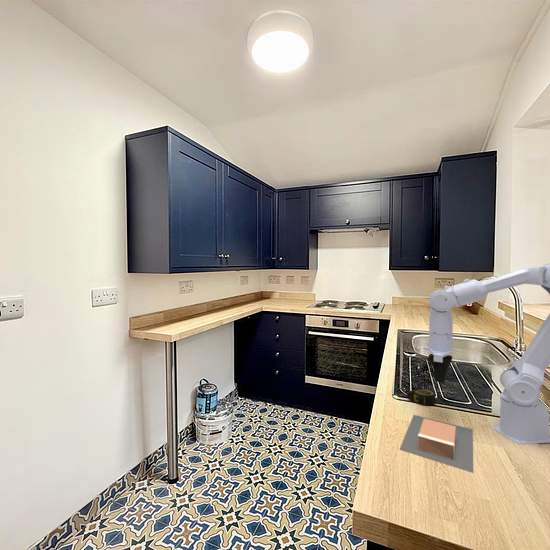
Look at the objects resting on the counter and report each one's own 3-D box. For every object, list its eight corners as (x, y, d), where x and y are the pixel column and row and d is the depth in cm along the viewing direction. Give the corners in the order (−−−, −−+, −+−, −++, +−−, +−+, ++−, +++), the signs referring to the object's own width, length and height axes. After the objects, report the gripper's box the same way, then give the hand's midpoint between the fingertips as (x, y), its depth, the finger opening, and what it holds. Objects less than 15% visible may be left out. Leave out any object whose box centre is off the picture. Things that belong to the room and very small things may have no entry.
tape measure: (419, 397, 98) (419, 385, 98) (440, 405, 92) (440, 392, 92) (406, 401, 94) (406, 389, 94) (427, 410, 88) (427, 397, 88)
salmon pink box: (423, 418, 76) (417, 435, 68) (456, 426, 72) (454, 445, 64) (423, 430, 76) (417, 449, 68) (455, 438, 72) (454, 460, 64)
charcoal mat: (413, 416, 84) (413, 414, 84) (472, 430, 76) (472, 429, 76) (399, 451, 68) (399, 449, 67) (473, 474, 60) (473, 472, 60)
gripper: (427, 327, 91) (427, 371, 91) (421, 335, 79) (420, 386, 79) (454, 330, 87) (454, 376, 87) (452, 339, 75) (451, 392, 75)
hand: (440, 381), depth 83 cm, fingers closed
